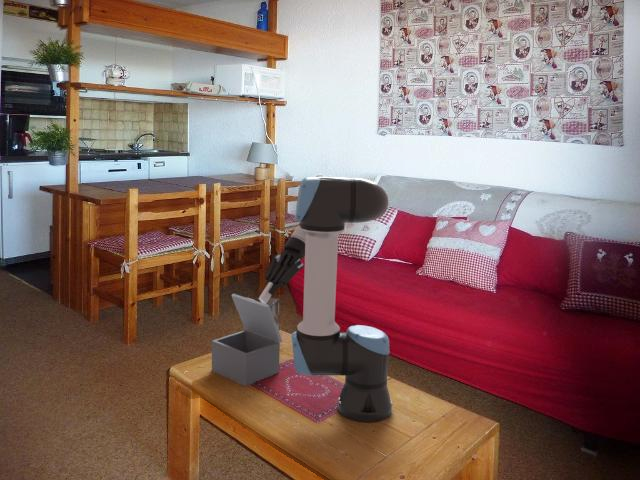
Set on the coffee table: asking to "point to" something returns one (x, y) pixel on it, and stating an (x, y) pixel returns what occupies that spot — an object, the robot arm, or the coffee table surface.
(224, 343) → the block
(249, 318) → the lid
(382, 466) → the coffee table surface
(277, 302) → the coffee box
